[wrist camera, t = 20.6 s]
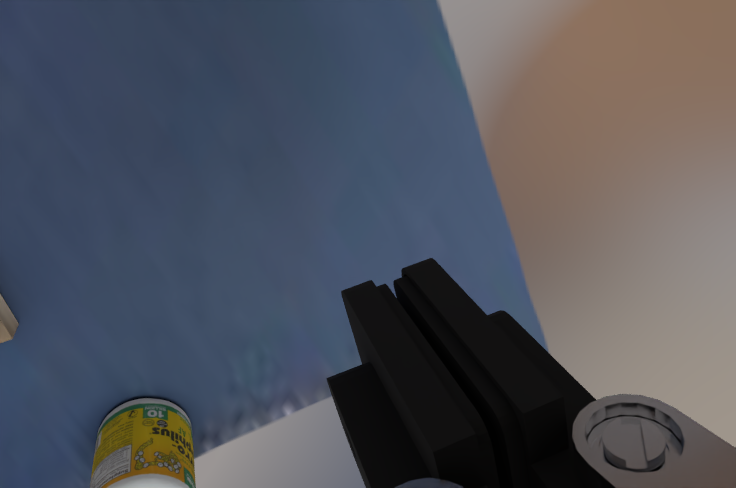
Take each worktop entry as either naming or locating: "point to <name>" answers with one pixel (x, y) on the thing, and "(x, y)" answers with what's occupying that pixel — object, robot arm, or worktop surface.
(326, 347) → the worktop surface
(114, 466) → the supplement bottle
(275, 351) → the worktop surface
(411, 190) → the worktop surface
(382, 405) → the robot arm
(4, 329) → the shaft bracket
